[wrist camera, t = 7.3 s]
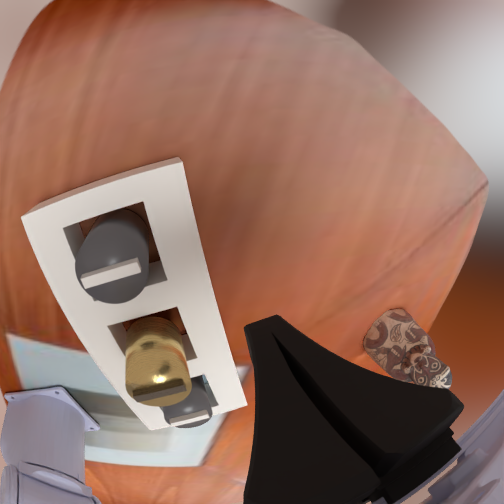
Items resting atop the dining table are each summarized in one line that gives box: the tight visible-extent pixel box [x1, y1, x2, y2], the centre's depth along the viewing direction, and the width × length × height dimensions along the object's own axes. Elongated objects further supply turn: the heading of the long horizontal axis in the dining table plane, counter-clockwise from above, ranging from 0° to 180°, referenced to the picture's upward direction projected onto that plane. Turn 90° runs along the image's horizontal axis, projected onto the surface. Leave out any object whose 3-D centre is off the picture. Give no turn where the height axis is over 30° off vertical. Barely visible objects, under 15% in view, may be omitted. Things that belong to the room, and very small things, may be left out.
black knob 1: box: [75, 209, 149, 304], centre depth 15 cm, size 4×4×5 cm
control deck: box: [21, 157, 247, 431], centre depth 19 cm, size 10×22×3 cm, turn 9°
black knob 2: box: [163, 375, 213, 428], centre depth 21 cm, size 4×4×5 cm
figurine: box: [363, 309, 452, 389], centre depth 27 cm, size 7×7×12 cm
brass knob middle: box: [125, 317, 192, 407], centre depth 16 cm, size 4×4×5 cm
